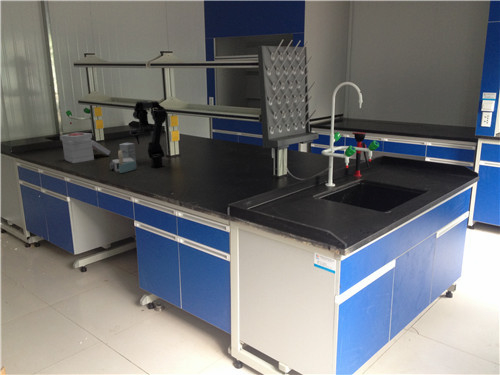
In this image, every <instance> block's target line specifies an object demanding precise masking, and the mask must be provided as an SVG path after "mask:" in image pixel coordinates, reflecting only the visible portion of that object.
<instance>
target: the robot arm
mask: <svg viewBox="0 0 500 375" xmlns="http://www.w3.org/2000/svg"><path fill="white" fill-rule="evenodd" d="M155 109H157V110H155ZM133 110H134V111H133V112H132V117H133V118H134V119H135V120H138V124H139V129H136V128H133V129H132V128H131V129H129V134H130V135H131V136H133V137H134V138H135V141H136V143H137V145H140V139H139V133H141V134H142V133H144V134H147V133H150V138H151V140H150V142H149V143H148V146H147V154H148V158H149V159H151V165H150V167H151V168H156V169H158V168H161V167H164V166H165V165H164V164H163V157H164V158H165V152H164V151H163V148H162V145H161V137H162V129H163V124H164V123H165V122H166V121H167V116H168V112H167V110H166V109H165V107H164V106H162V105H161V104H160V103H159V101H151V102H150V101H148V100H142V101H141V100H140V101H136V103H135V104H134V109H133ZM148 110H150V115H151V117H152V120H153V121H154V125H153V124H149V118H148V114H149V112H148Z"/></svg>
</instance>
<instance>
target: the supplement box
mask: <svg viewBox="0 0 500 375" xmlns="http://www.w3.org/2000/svg"><path fill="white" fill-rule="evenodd" d="M118 145H119V150H122V155H123V159H124V158H132V159H133V160H134V161H136V162H137V160H136V159H137V158H136V144H135V143H133V142H132V143H131V142H123V143H120V144H118Z"/></svg>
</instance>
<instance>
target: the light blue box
mask: <svg viewBox="0 0 500 375" xmlns="http://www.w3.org/2000/svg"><path fill="white" fill-rule="evenodd" d="M131 161H134V160H133V159H132V158H124V159H123V163H127V162H131ZM109 168H110V170H114V171H115V172H119V158H116V159H111V162H109Z"/></svg>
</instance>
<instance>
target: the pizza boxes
mask: <svg viewBox="0 0 500 375" xmlns="http://www.w3.org/2000/svg"><path fill="white" fill-rule="evenodd" d="M59 140H60V141H61V142H62V147H63V148H62V149H63V155H64V156H63V157H64V160H65V161H67V162H69V163H72V164H76V163H83V162H89V161H94V160H95V156H94V150H95V151H97V152H99V153H100V154H104V155H107V156H109V155H110V153H112V152H111V150H109V149H108V148H106V147H104V146H103V145H101V144H100V143H98V142H97V141H95V140H93V133H90V132H89V133H88V132H76V131H75V132H71V133H67V134H61V135H59Z"/></svg>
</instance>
